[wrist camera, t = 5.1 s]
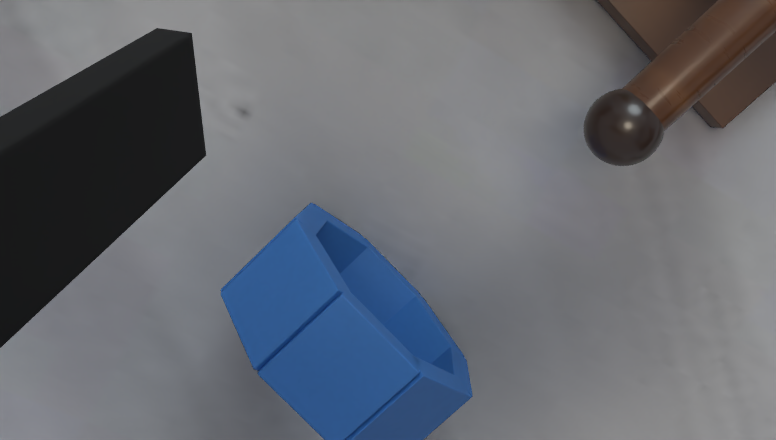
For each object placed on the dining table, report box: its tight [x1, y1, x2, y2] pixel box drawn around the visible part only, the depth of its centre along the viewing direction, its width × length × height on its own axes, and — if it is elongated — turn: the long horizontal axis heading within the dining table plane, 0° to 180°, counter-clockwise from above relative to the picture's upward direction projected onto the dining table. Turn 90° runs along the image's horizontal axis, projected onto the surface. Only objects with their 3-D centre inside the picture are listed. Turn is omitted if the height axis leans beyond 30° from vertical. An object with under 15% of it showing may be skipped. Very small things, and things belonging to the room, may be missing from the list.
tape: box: [221, 203, 473, 440], centre depth 33 cm, size 5×11×11 cm, turn 44°
